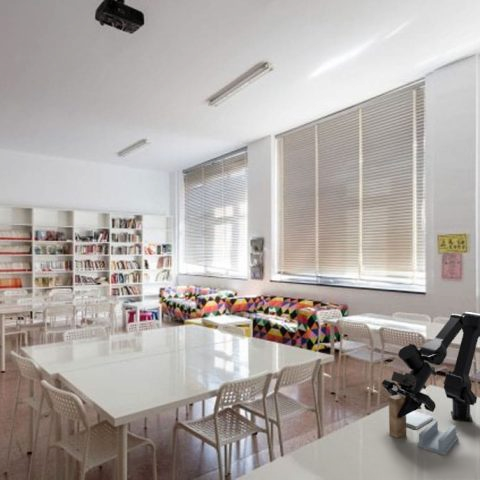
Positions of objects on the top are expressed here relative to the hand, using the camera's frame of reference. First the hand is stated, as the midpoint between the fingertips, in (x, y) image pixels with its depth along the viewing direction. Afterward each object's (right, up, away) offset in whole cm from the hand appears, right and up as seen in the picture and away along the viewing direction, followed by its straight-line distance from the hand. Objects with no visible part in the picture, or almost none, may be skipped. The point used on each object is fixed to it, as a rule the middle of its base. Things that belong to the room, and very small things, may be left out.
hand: (394, 415), depth 133 cm
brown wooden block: (+1, -7, 0) cm, 7 cm away
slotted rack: (+12, -6, -5) cm, 15 cm away
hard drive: (+11, -7, +11) cm, 18 cm away
